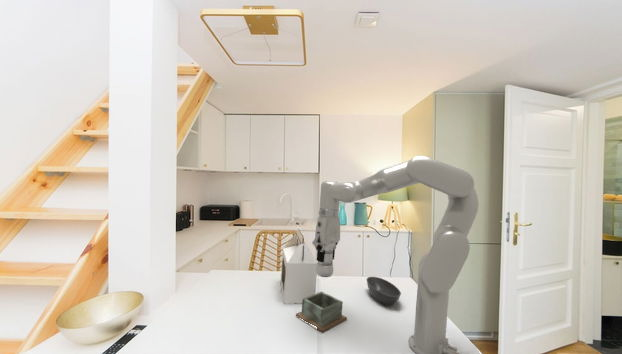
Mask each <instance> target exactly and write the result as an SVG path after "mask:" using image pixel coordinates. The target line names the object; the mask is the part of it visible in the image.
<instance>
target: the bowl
mask: <svg viewBox="0 0 622 354" xmlns="http://www.w3.org/2000/svg"><path fill="white" fill-rule="evenodd" d="M366 285H367V288H368V290H369V292H370V294H371V297H372V298H373V299H374V300H375V301H376V302H377V303H379V304H380V305H382V306H384V307H387V308H388V307H389V308H391V307H393V306H394V305H396V304H397V303H398V301H399V299H400V297H401V295H402V292H401V291H400V289H399V288H398V287H397V286H396V285H395V284H393V283H391V282H390V281H388V280H386V279H383V278H381V277H377V276H368V277H367V278H366Z"/></svg>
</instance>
